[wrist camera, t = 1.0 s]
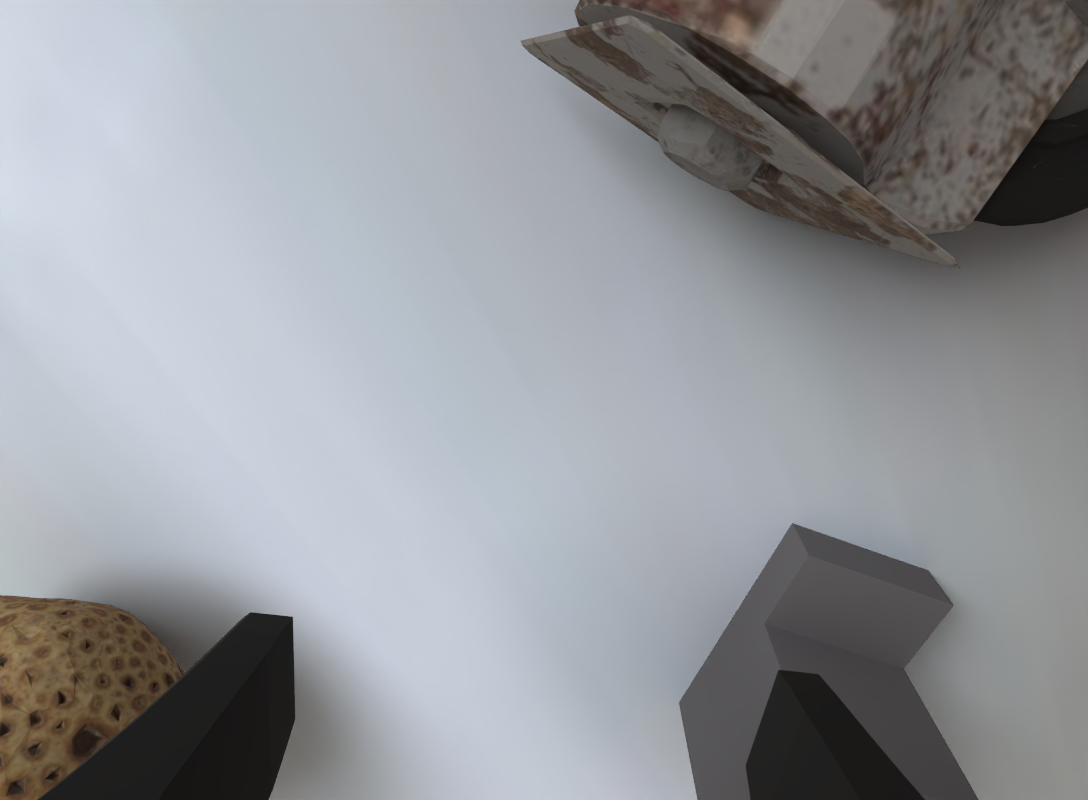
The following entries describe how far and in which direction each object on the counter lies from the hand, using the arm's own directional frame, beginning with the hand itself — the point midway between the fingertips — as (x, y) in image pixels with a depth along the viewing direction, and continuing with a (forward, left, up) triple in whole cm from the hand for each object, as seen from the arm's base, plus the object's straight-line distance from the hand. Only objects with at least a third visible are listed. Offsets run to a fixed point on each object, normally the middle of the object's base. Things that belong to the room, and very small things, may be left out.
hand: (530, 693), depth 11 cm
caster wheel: (-3, -12, -10) cm, 16 cm away
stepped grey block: (-10, +5, -10) cm, 15 cm away
